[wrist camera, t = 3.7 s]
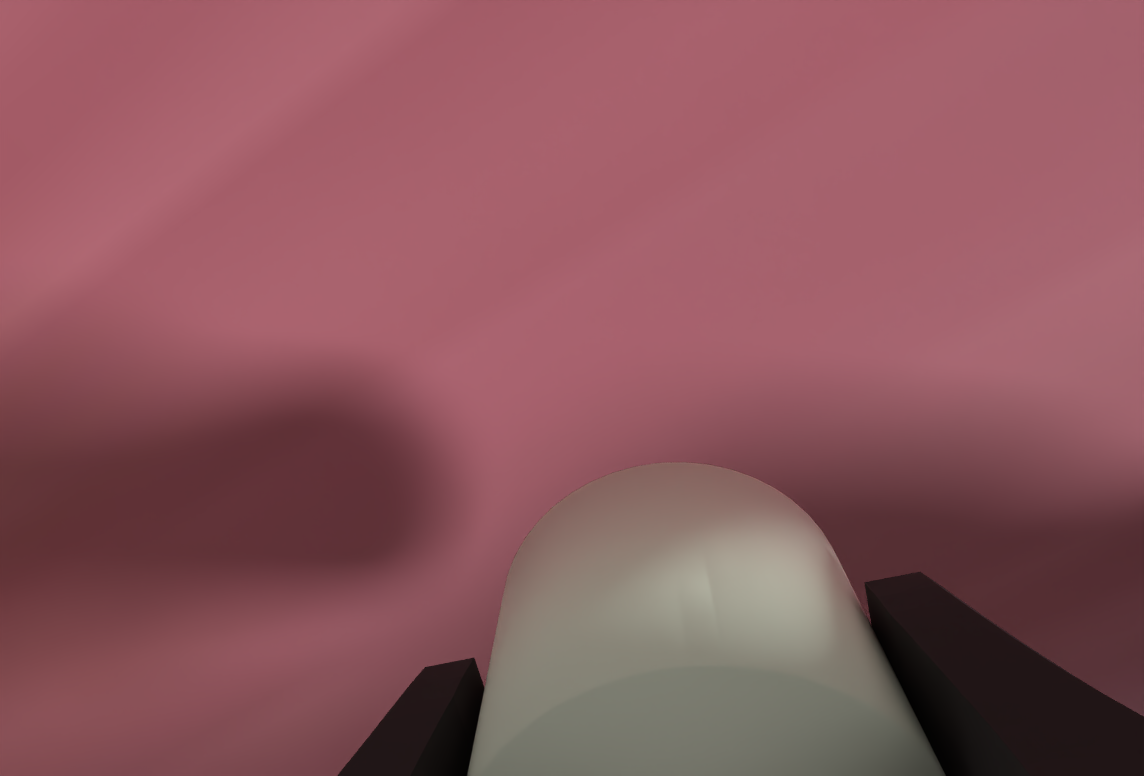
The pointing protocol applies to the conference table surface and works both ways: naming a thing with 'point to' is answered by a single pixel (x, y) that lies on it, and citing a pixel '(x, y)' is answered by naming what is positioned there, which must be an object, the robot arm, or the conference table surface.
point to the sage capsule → (688, 642)
